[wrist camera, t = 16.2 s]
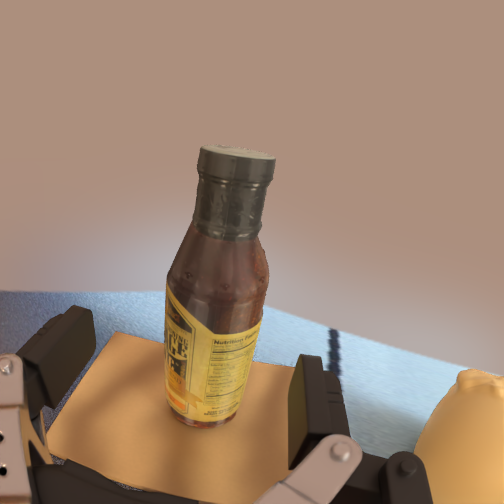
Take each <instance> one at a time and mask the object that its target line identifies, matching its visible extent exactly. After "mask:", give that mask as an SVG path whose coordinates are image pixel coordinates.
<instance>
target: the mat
mask: <svg viewBox="0 0 504 504" xmlns="http://www.w3.org/2000/svg"><path fill="white" fill-rule="evenodd" d="M294 370H295V367H289V366H282V365H274V364H268V363H261V362H255V361H252V362H251V366H250V370H249V374H248V378H247V382H246V386H245V390H244V393H243V397H242V401H241V404H240V406H239V408H238V409H237V412H236V415H235V417H234V418H233V419H232V420H231V421H229V422H227V423H226V424H224V425H221V426H219V427H215V428H210V429H201V428H197V427H193V426H190V425H186V424H184V423H182V422H180V421H179V420H178V419H177V418H176V416H175V415H174V414H173V413H172V411H171V409H170V407H169V405H168V403H167V398H166V395H165V373H164V343H159V342H155V341H151V340H147V339H143V338H139V337H135V336H132V335H128V334H124V333H121V332H117V331H116V332H115V333H114V335H113V336H112V337H111V339H110V340H109V341H108V343H107V344H106V346H105V347H104V348H103V350H102V351H101V353H100V354H99V356H98V357H97V358H96V360H95V361H94V363H93V364H92V366H91V367H90V368H89V370H88V371H87V373H86V374H85V376H84V377H83V379H82V380H81V382H80V383H79V385H78V386H77V387H76V389H75V390H74V392H73V393H72V395H71V396H70V398H69V399H68V401H67V403H66V404H65V406H64V407H63V409H62V410H61V412H60V413H59V415H58V416H57V418H56V419H55V421H54V423H53V424H52V426H51V427H50V429H49V431H48V432H47V434H46V438H47V443H48V448H49V453H51V454H53V455H55V456H57V457H59V458H61V459H63V460H65V461H66V459H67V458H68V459H70V460H72V461H75V462H77V463H79V464H82V465H84V466H86V467H89V468H91V469H94V470H96V471H97V472H99V473H100V474H102V475H103V476H105V477H106V478H109V479H111V480H114V481H117V482H120V483H123V484H126V485H129V486H132V487H135V488H138V489H141V490H145V491H148V492H162V493H167V494H171V495H175V496H179V497H184V498H188V499H193V500H198V501H199V504H252V503H253V502H254V501H256V500H257V499H258V498H259V497H260V496H261V495H263V494H264V493H265V492H266V491H267V490H268V489H269V488H270V487H271V486H273V485H274V484H275V483H276V482H278V481H279V480H281V481H282V480H283V479H285V478H286V477H287V476H288V475H289V474H290V473H291V472H292V471H293V470H288V390H289V385H290V382H291V379H292V376H293V373H294Z"/></svg>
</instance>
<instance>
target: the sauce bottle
mask: <svg viewBox="0 0 504 504" xmlns="http://www.w3.org/2000/svg"><path fill="white" fill-rule="evenodd" d="M275 161H276V159H275V157H273V156H272V155H269V154H266V153H262V152H259V151H253V150H249V149H243V148H237V147H230V146H221V145H204V146H202V147H201V148H200V154H199V159H198V164H197V170H198V174H199V183H198V187H197V197H196V206H195V211H194V214H193V220H192V222H191V224H190V226H189V228H188V231H187V233H186V235H185V237H184V239H183V242H182V243H181V246H180V248H179V250H178V252H177V254H176V257H175V259H174V261H173V263H172V266H171V268H170V270H169V272H168V274H167V281H166V299H165V331H164V337H165V340H164V343H165V344H164V373H165V395H166V398H167V403H168V405H169V407H170V409H171V411H172V413H173V414H174V415H175V416H176V418H177V419H178V420H179V421H180V422H182V423H184V424H186V425H190V426H193V427H197V428H201V429H210V428H215V427H219V426H221V425H224V424H226V423H227V422H229V421H231V420H232V419H233V418H234V417H235V415H236V412H237V409H238V408H239V406H240V404H241V401H242V397H243V393H244V390H245V386H246V382H247V378H248V374H249V370H250V366H251V362H252V358H253V354H254V350H255V346H256V342H257V338H258V334H259V329H260V325H261V321H262V317H263V304H264V300H265V296H266V291H267V288H268V283H269V268H268V263H267V260H266V256H265V251H264V249H262V247H261V244H260V241H259V238H258V236H257V235H258V233H259V231H260V230H261V227H262V222H261V216H262V211H263V207H264V201H265V195H266V190H267V187H268V186H269V184H270V182H271V181H272V180H273V173H274V168H275Z"/></svg>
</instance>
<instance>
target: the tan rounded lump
mask: <svg viewBox="0 0 504 504" xmlns="http://www.w3.org/2000/svg"><path fill="white" fill-rule="evenodd" d="M413 454H415V455H416V456H418V457H419V458H420V459H421V460H422V462H423V463H424V466H425V469H426V473H427V477H428V482H429V486H430V490H431V495H432V500H433V504H504V376H495V375H491V374H488V373H486V372H483V371H480V370H477V369H468V370H464V371H461V372H460V373H459V374H458V376H457V380H456V383H455V384H454V385H453V386H452V387H451V388H450V389H449V391H448V393H447V394H446V395H445V396H444V397H443V399H442V400H441V401H440V402H439V403H438V405H437V406H436V408H435V409H434V411H433V413H432V414H431V416H430V418H429V420H428V422H427V423H426V425H425V427H424V429H423V430H422V432H421V434H420V436H419V439H418V441H417V443H416V446H415V449H414V453H413Z"/></svg>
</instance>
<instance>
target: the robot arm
mask: <svg viewBox="0 0 504 504" xmlns="http://www.w3.org/2000/svg"><path fill="white" fill-rule="evenodd" d="M95 349H96V336H95V329H94V321H93V314H92V311H91V310H90V309H86V308H83V307H79V306H76V305H73V306H71V307H70V308H69V309H68V310H67V311H66V312H65V313H64V314H59V315H57V316H55V317H53V318H51V319H50V320H49V321H48V322H46V323H45V324H44V325H43V328H40V329H39V330H38V331H37V334H34V335H33V336H32V337H31V338H30V339H29V340H28V341H27V342H26V344H25V345H24V346H23V347H22V348H21V349H20V350H19V351H18V352H17V353H16V354H12V353H4V354H1V355H0V504H199V501H198V500H193V499H188V498H184V497H179V496H175V495H171V494H167V493H162V492H147V491H135V490H127V489H124V488H122V487H121V486H119V485H117V484H116V483H114V482H113V481H111V480H110V479H108V478H106V477H105V476H103V475H102V474H100V473H99V472H97V471H96V470H94V469H91V468H89V467H86V466H84V465H82V464H79V463H77V462H75V461H72V460H70V459H68V458H67V459H66V461H65V463H64V465H59V464H54V463H53V461H52V458H51V456H50V453H49V448H48V443H47V438H46V432H45V426H44V419H43V413H42V411H41V409H42V408H43V406H44V405H46V406H48V407H50V408H52V409H54V410H55V409H56V407H57V406H58V404H59V403H60V401H61V400H62V398H63V397H64V395H65V394H66V393H67V391H68V390H69V388H70V387H71V385H72V384H73V382H74V381H75V380H76V378H77V377H78V375H79V374H80V373H81V371H82V370H83V368H84V367H85V366H86V364H87V363H88V361H89V360H90V359H91V357H92V356H93V354H94V352H95ZM343 402H344V400H343V395H342V390H341V385H340V381H339V380H338V379H337V377H336V376H335V374H334V373H333V372H332V371H323V365H322V359H321V357H320V356H312V355H304V354H300V355H299V358H298V361H297V364H296V367H295V370H294V373H293V376H292V379H291V382H290V385H289V390H288V470H293V471H292V472H291V473H290V474H289V475H288V476H287V477H286V478H285V479H283V480H282V481H281V480H279V481H278V482H276V483H275V484H274V485H273V486H271V487H270V488H269V489H268V490H267V491H266V492H265V493H264V494H263V495H261V496H260V497H259V498H258V499H257V500H256V501H254V502H253V503H252V504H433V500H432V495H431V490H430V486H429V482H428V477H427V473H426V469H425V466H424V463H423V462H422V460H421V459H420V458H419V457H418V456H416V455H415V454H413V453H410V452H405V451H402V452H397V453H395V454H393V455H392V456H391V457H390V458H389V459H386V458H382V457H378V456H374V455H371V454H367V453H365V452H363V451H362V450H361V447H360V446H359V444H358V443H357V442H356V441H355V440H353V439H352V438H351V436H350V431H349V426H348V420H347V415H346V410H345V405H344V404H343Z"/></svg>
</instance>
